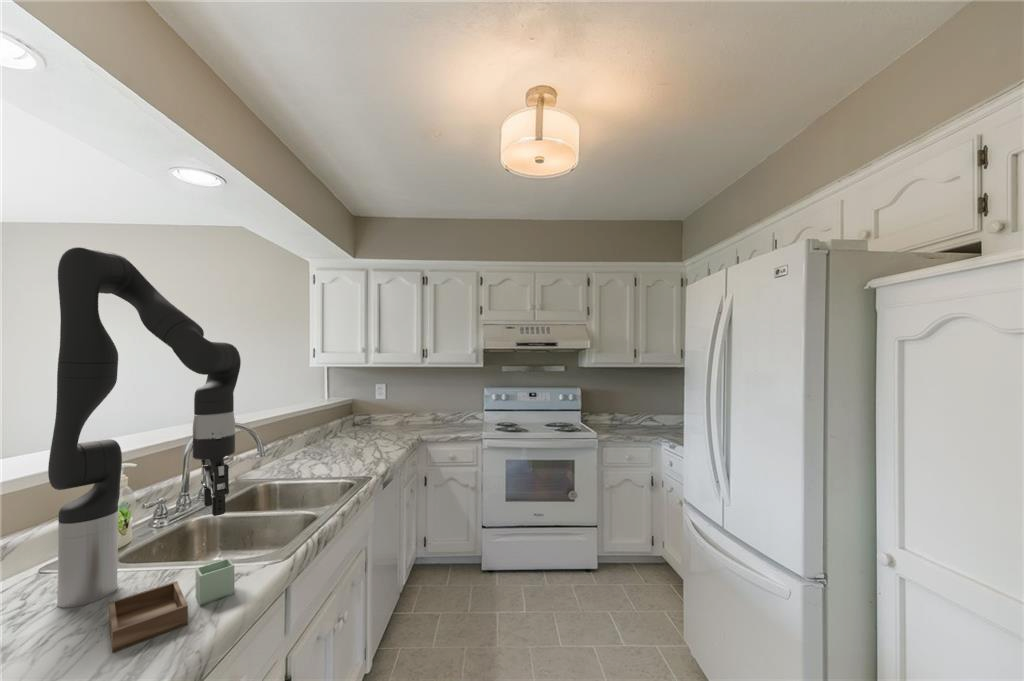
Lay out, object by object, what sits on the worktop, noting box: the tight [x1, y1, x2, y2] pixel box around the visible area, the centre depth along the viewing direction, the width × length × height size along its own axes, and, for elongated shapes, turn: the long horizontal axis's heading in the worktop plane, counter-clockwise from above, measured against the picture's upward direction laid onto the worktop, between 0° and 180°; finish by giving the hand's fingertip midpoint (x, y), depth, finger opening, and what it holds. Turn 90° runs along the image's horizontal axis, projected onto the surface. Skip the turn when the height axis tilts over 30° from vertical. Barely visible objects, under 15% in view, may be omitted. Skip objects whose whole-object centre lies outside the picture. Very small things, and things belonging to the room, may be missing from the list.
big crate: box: [108, 580, 189, 654], centre depth 81 cm, size 13×10×4 cm
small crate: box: [195, 557, 235, 607], centre depth 90 cm, size 5×6×6 cm
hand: (214, 509), depth 91 cm, fingers open, 8 cm apart
